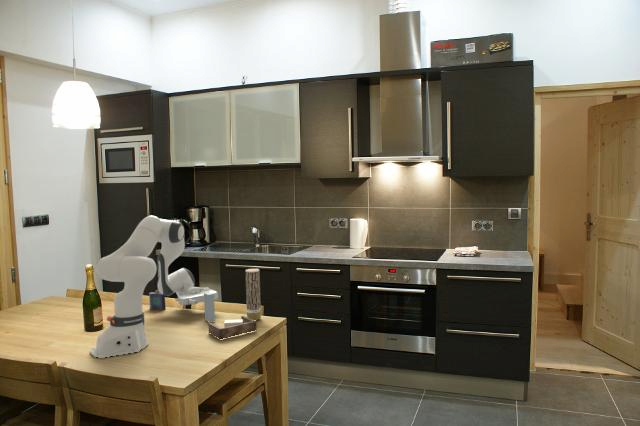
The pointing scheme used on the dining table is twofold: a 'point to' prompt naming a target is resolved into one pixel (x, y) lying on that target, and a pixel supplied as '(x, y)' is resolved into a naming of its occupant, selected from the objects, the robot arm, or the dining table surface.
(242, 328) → the brown basket
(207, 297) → the blue-grey block
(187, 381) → the dining table surface
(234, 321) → the offcut upper
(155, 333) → the dining table surface
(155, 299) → the flask
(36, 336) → the dining table surface
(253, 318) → the brown patterned cylinder
